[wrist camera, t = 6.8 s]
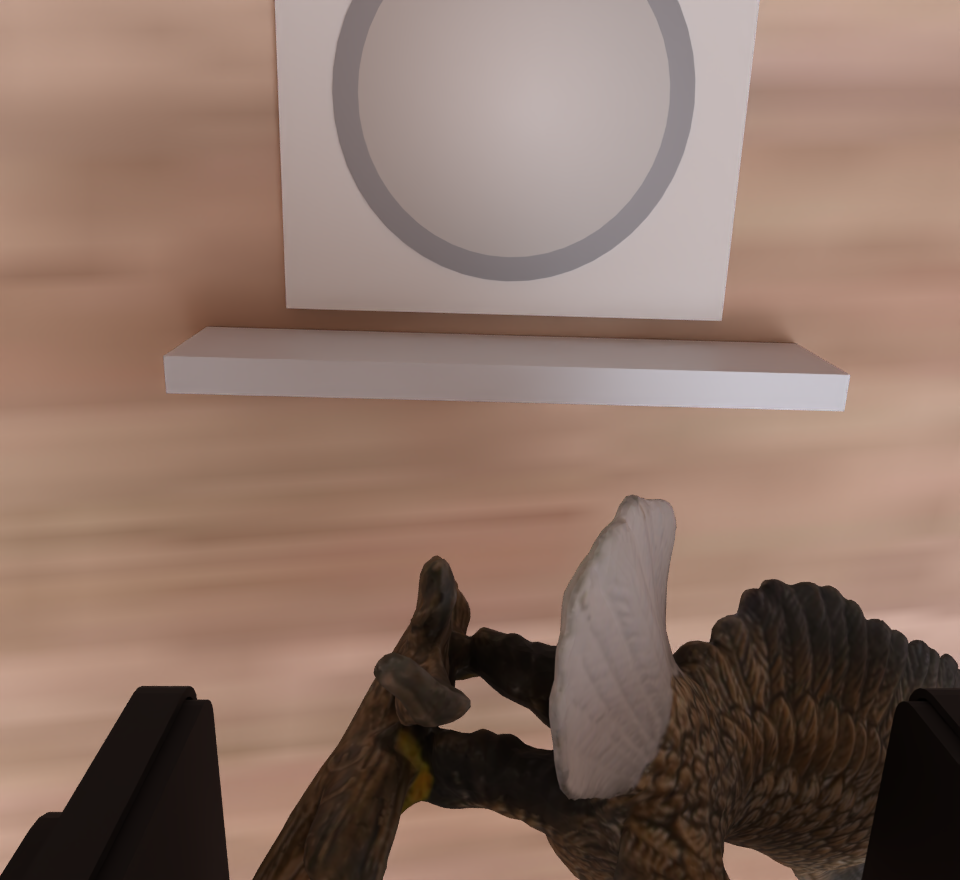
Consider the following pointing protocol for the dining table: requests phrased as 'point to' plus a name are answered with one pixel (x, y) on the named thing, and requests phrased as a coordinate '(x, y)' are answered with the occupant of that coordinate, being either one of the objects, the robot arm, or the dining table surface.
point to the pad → (512, 154)
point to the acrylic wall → (504, 369)
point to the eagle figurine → (627, 727)
